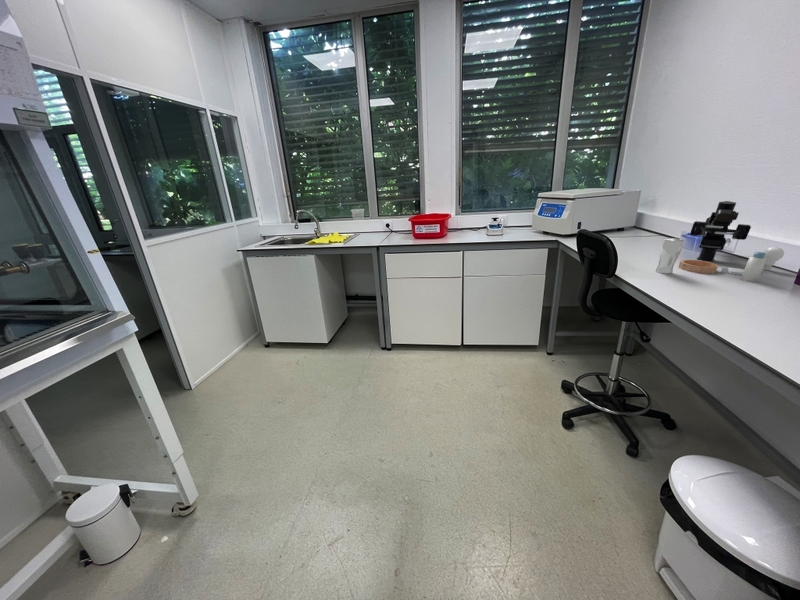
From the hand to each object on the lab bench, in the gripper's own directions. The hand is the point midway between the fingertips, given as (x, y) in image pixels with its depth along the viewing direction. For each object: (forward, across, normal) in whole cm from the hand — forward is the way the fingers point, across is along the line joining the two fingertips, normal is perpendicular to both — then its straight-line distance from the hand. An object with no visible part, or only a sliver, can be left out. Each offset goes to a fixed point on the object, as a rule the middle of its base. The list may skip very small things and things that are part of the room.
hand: (718, 235), depth 139 cm
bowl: (+1, -3, +17) cm, 17 cm away
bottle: (+7, +14, +16) cm, 22 cm away
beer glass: (+14, -14, +15) cm, 25 cm away
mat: (-3, +10, +17) cm, 20 cm away
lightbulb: (-16, +20, +19) cm, 32 cm away
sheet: (-3, +10, +17) cm, 20 cm away
